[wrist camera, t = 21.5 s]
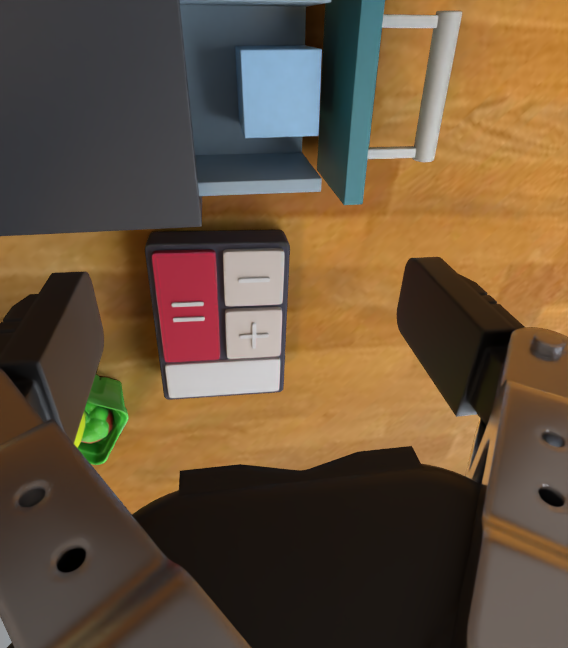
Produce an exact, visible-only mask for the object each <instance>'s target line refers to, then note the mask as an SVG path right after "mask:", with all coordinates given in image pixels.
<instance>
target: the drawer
mask: <svg viewBox="0 0 568 648" xmlns="http://www.w3.org/2000/svg"><path fill="white" fill-rule="evenodd" d="M324 3H325V18H324V38H323V59H322V79H321V99H320V120H319V140H318V160H317V170H318V172H319V173H320V174H321V176H322V177H323V178H324V180H325V181H326V182H327V184H328V185H329V186H330V187H331V189H332V190H333V191H334V193H335V194H336V195H337V197H338V198H339V199H340V201H341V202H342V203H343V204H344V205H355V204H362V203H363V195H364V186H365V177H366V167H367V159H388V158H412V159H413V160H415V161H419V162H431V161H433V160H434V157H435V152H436V147H437V142H438V136H439V131H440V126H441V121H442V116H443V110H444V105H445V100H446V95H447V89H448V84H449V79H450V74H451V69H452V63H453V58H454V53H455V48H456V43H457V37H458V32H459V27H460V22H461V17H462V11H437V12H436V15H388V14H383V13H384V4H385V0H180V9H181V19H182V29H183V39H184V49H185V59H186V69H187V79H188V89H189V99H190V109H191V119H192V129H193V139H194V149H195V159H196V169H197V179H198V189H199V196H215V195H241V194H267V193H293V192H320V191H321V180H322V179H321V177H320V176H319V175H318V173H317V172H316V171H315V169H314V168H313V167H312V165H311V164H310V163H309V161H308V160H307V159H306V157H305V156H304V155H303V153H302V137H272V138H245V137H244V134H243V132H242V129H241V126H240V123H239V111H238V93H237V75H236V56H235V46H262V45H305V29H306V6H312V5H318V4H324ZM382 28H433V34H432V40H431V47H430V53H429V59H428V65H427V71H426V77H425V83H424V89H423V95H422V101H421V107H420V113H419V119H418V125H417V131H416V137H415V144H414V147H413V146H405V147H369V140H370V131H371V122H372V113H373V104H374V95H375V86H376V77H377V68H378V59H379V50H380V41H381V32H382Z"/></svg>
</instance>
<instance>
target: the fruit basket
mask: <svg viewBox="0 0 568 648" xmlns="http://www.w3.org/2000/svg"><path fill="white" fill-rule="evenodd" d="M127 421H128V413H127V409H126V408H125V404H124V398H123V392H122V386H121V382H120V381H117V380H113V379H110V378H107V377H101V378H100V377H99V376H98V375H95V378H94V381H93V384H92V387H91V391H90V394H89V397H88V400H87V403H86V406H85V410H84V413H83V416H82V419H81V422H80V425H79V429H78V432H77V435H76V438H75V441H74V445H75V446H76V447H77V448H78V449H79V451H80V452H81V453H82V454H83V456H84V457H85V458H86V459H87V460H88V462H89V463H90V464H94V465H99V464H103V463H104V462H106V460H107V458H108V456H109V454H110V452H111V450H112V449H113V447H114V445H115V443H116V441H117V439H118V437H119V435H120V434H121V432H122V430H123V428H124V426H125V425H126V423H127Z"/></svg>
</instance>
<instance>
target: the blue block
mask: <svg viewBox="0 0 568 648" xmlns="http://www.w3.org/2000/svg"><path fill="white" fill-rule="evenodd" d="M235 56H236V75H237V93H238V111H239V123H240V126H241V129H242V132H243V134H244V137H245V138H272V137H302V136H318V135H319V111H320V85H321V59H322V49H319V48H315V47H310V46H306V45H262V46H235Z"/></svg>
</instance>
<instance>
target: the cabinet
mask: <svg viewBox="0 0 568 648" xmlns="http://www.w3.org/2000/svg"><path fill="white" fill-rule="evenodd" d="M201 226H202V196H199V189H198V179H197V169H196V159H195V149H194V139H193V129H192V119H191V109H190V99H189V89H188V79H187V69H186V59H185V49H184V39H183V29H182V19H181V9H180V0H0V236H13V235H34V234H55V233H76V232H98V231H119V230H140V229H162V228H183V227H201Z"/></svg>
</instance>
